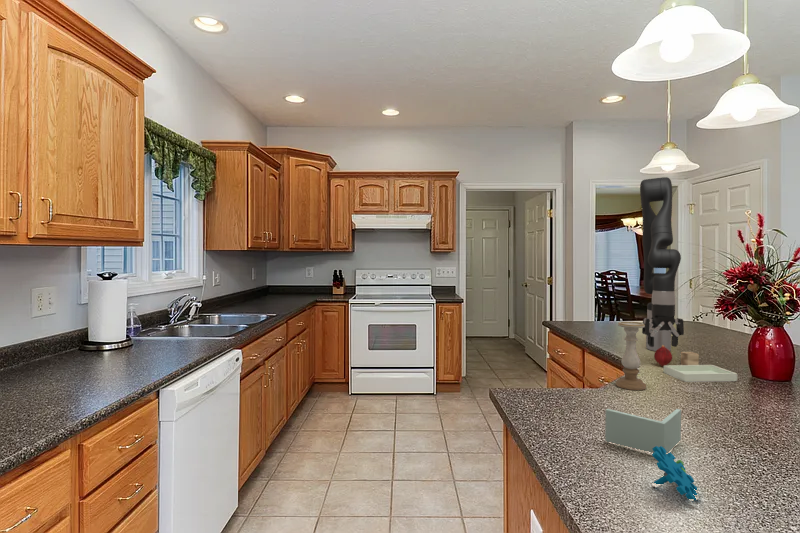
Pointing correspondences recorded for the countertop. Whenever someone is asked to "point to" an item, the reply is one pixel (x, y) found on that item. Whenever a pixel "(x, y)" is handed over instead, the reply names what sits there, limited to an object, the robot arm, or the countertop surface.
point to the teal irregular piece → (674, 472)
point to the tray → (699, 373)
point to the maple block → (689, 358)
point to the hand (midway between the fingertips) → (662, 346)
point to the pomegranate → (663, 356)
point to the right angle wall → (643, 430)
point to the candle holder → (631, 358)
